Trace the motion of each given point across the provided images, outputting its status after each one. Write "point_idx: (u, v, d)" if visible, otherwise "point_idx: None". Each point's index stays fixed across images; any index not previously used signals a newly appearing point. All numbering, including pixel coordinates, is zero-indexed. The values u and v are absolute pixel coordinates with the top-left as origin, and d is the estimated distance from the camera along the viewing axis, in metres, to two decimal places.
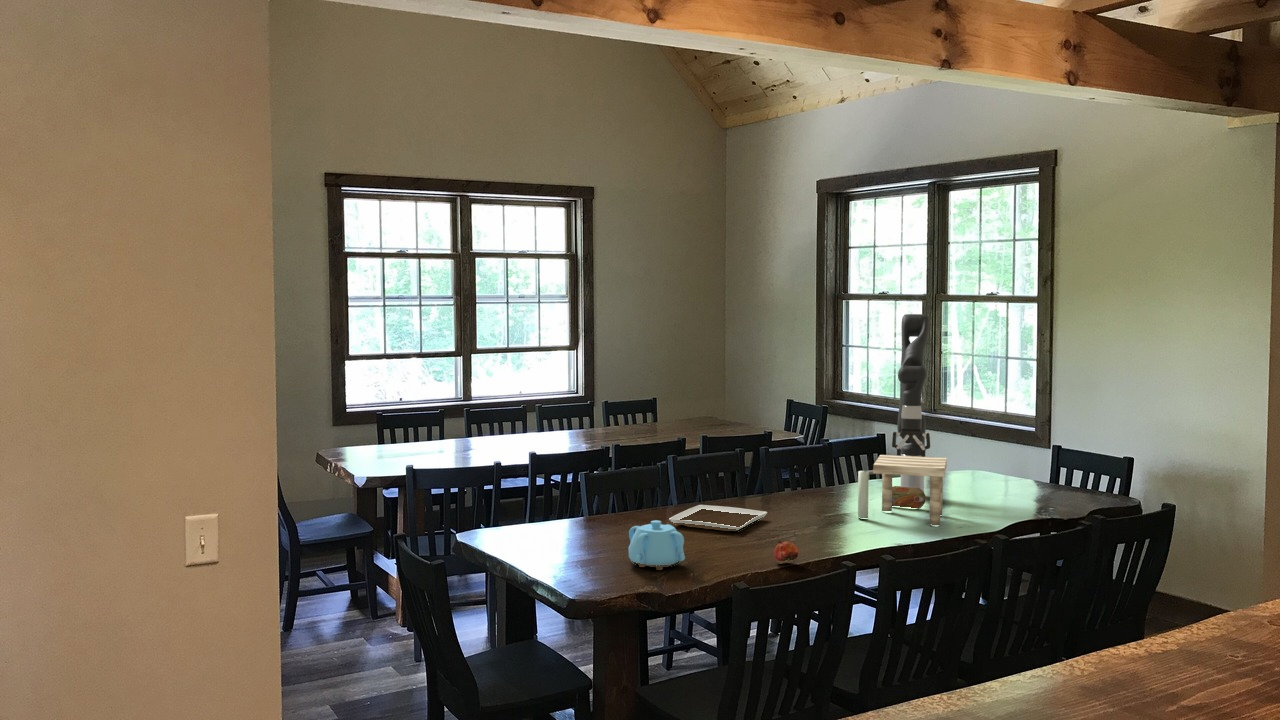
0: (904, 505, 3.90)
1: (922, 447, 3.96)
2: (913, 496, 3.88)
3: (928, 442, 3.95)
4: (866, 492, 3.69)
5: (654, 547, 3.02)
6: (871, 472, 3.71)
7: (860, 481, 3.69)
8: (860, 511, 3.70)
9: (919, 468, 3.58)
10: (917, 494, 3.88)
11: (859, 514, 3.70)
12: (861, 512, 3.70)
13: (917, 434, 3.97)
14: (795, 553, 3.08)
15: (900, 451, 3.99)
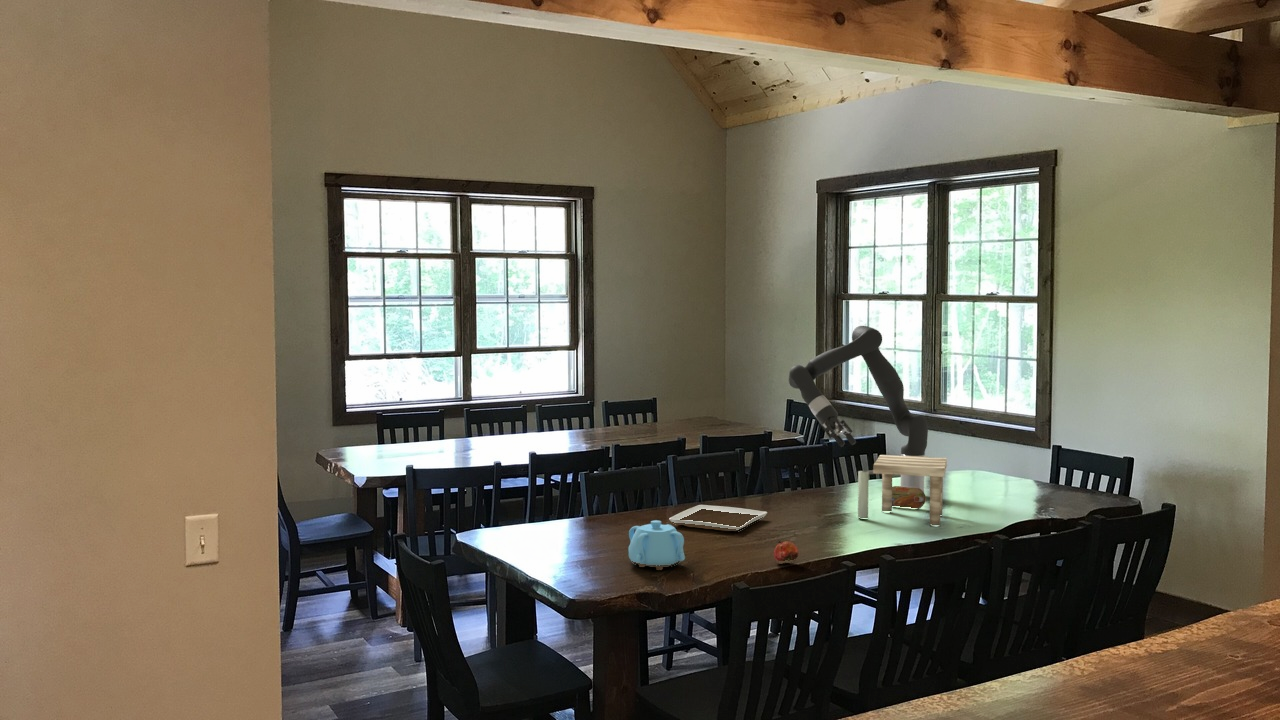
0: (904, 505, 3.90)
1: None
2: (913, 496, 3.88)
3: None
4: (866, 492, 3.69)
5: (654, 547, 3.02)
6: (871, 472, 3.71)
7: (860, 481, 3.69)
8: (860, 511, 3.70)
9: (919, 468, 3.58)
10: (917, 494, 3.88)
11: (859, 514, 3.70)
12: (861, 512, 3.70)
13: None
14: (795, 553, 3.08)
15: (847, 438, 3.85)
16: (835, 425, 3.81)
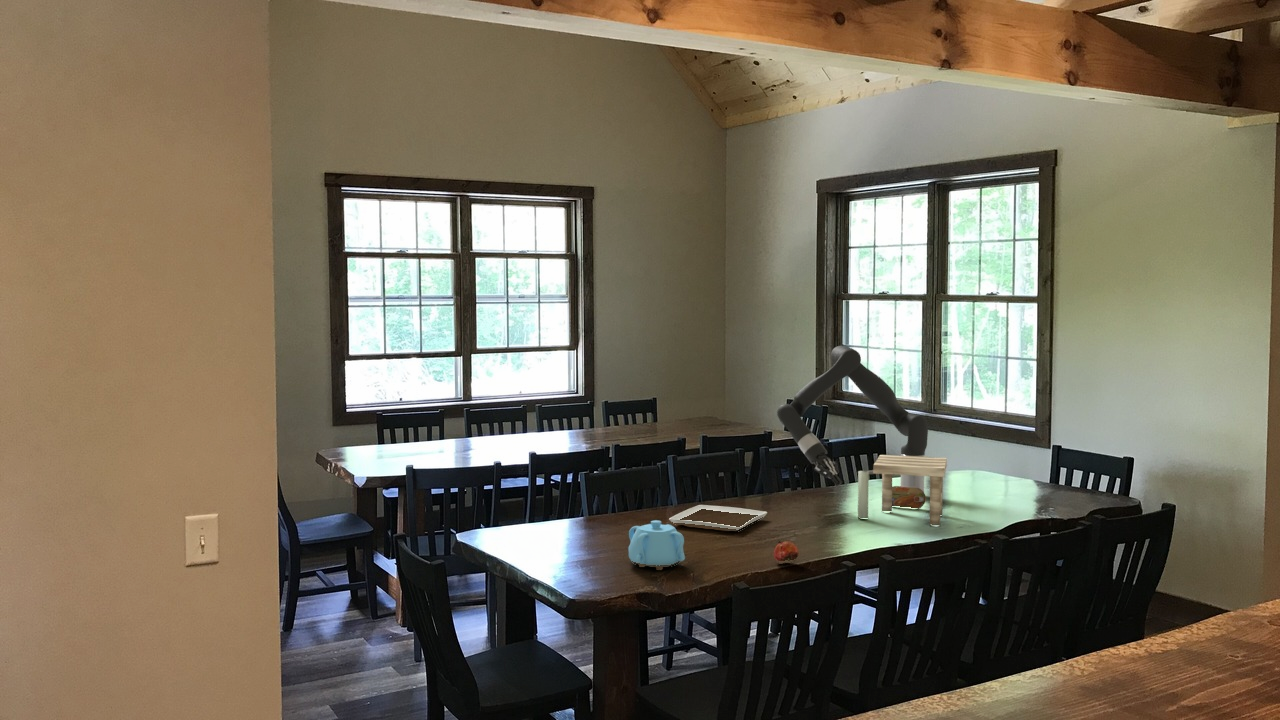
0: (904, 505, 3.90)
1: None
2: (913, 496, 3.88)
3: None
4: (866, 492, 3.69)
5: (654, 547, 3.02)
6: (871, 472, 3.71)
7: (860, 481, 3.69)
8: (860, 511, 3.70)
9: (919, 468, 3.58)
10: (917, 494, 3.88)
11: (859, 514, 3.70)
12: (861, 512, 3.70)
13: None
14: (795, 553, 3.08)
15: None
16: (826, 464, 3.82)
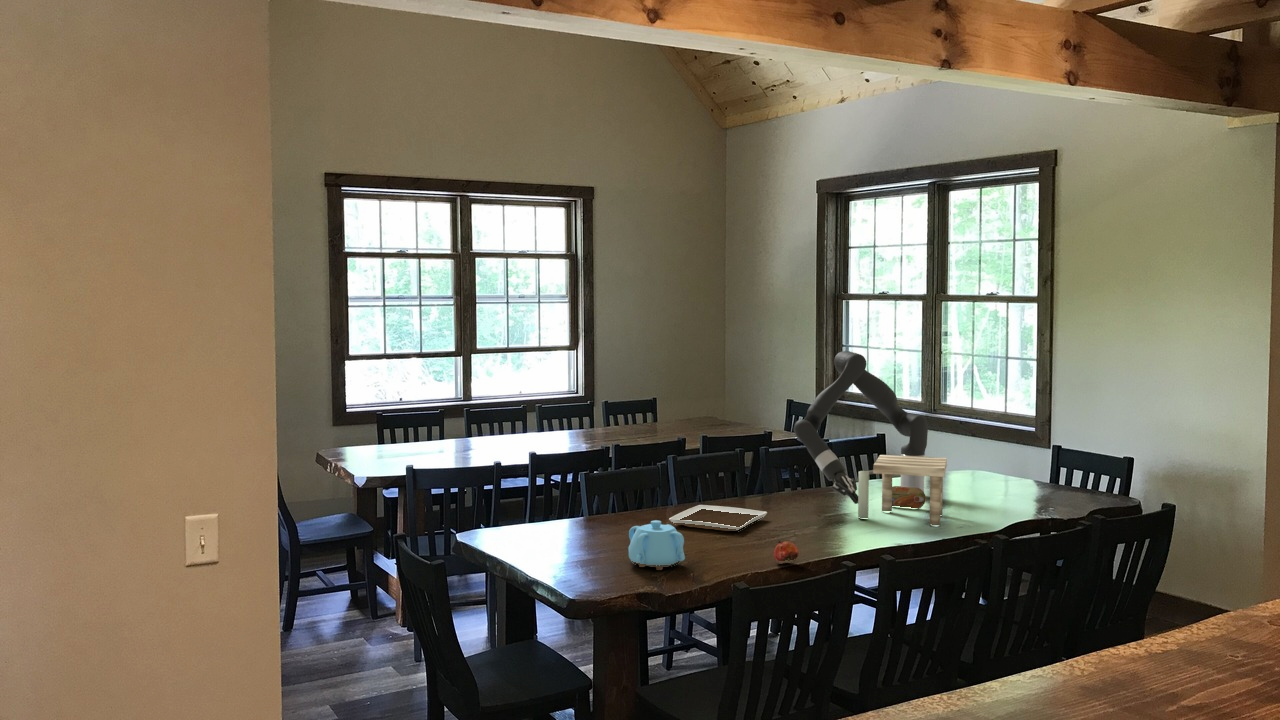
0: (904, 505, 3.90)
1: None
2: (913, 496, 3.88)
3: None
4: (866, 492, 3.69)
5: (654, 547, 3.02)
6: (871, 472, 3.71)
7: (861, 481, 3.69)
8: (860, 511, 3.70)
9: (919, 468, 3.58)
10: (917, 494, 3.88)
11: (859, 514, 3.70)
12: (861, 512, 3.70)
13: None
14: (795, 553, 3.08)
15: None
16: (845, 482, 3.74)
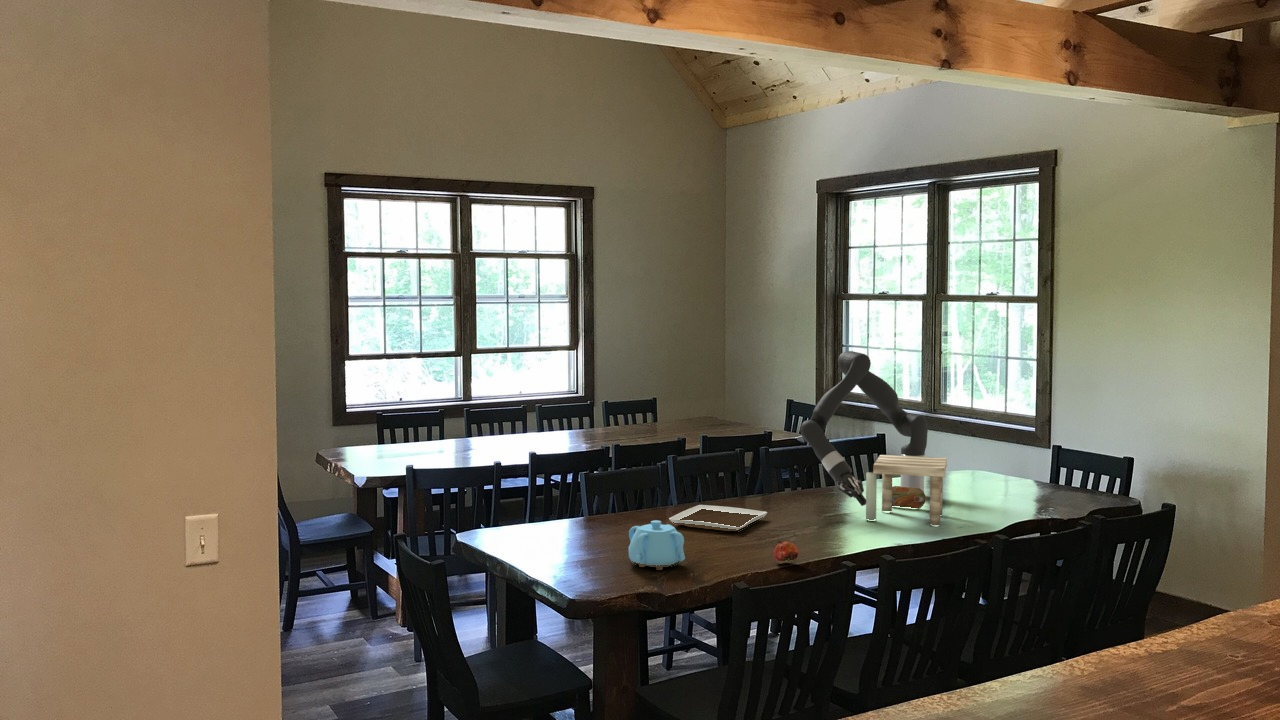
0: (904, 505, 3.90)
1: None
2: (913, 496, 3.88)
3: None
4: (875, 493, 3.67)
5: (654, 547, 3.02)
6: None
7: (870, 483, 3.66)
8: (870, 513, 3.67)
9: (919, 468, 3.58)
10: (917, 494, 3.88)
11: (869, 516, 3.67)
12: (870, 514, 3.66)
13: None
14: (795, 553, 3.08)
15: None
16: (851, 483, 3.71)
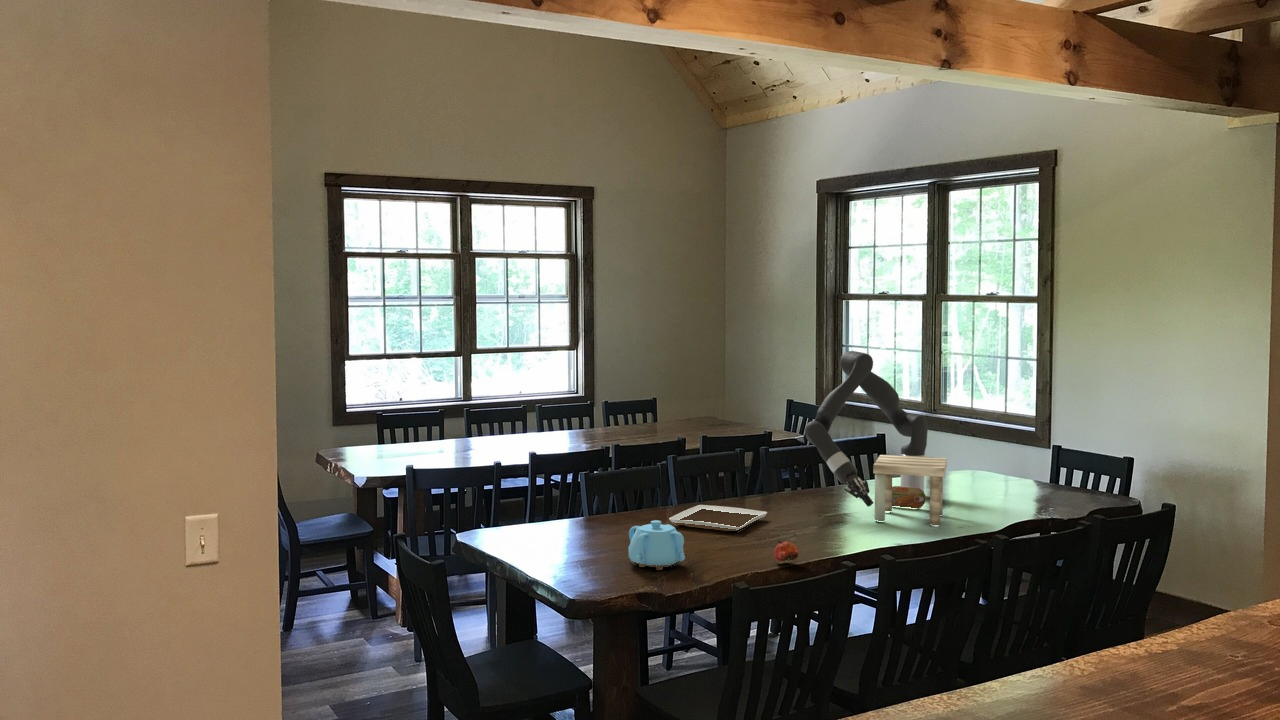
0: (904, 505, 3.90)
1: None
2: (913, 496, 3.88)
3: None
4: (884, 494, 3.65)
5: (654, 547, 3.02)
6: None
7: (881, 484, 3.64)
8: (880, 514, 3.65)
9: (919, 468, 3.58)
10: (917, 494, 3.88)
11: (879, 517, 3.65)
12: (881, 515, 3.65)
13: None
14: (795, 553, 3.08)
15: None
16: (857, 484, 3.69)
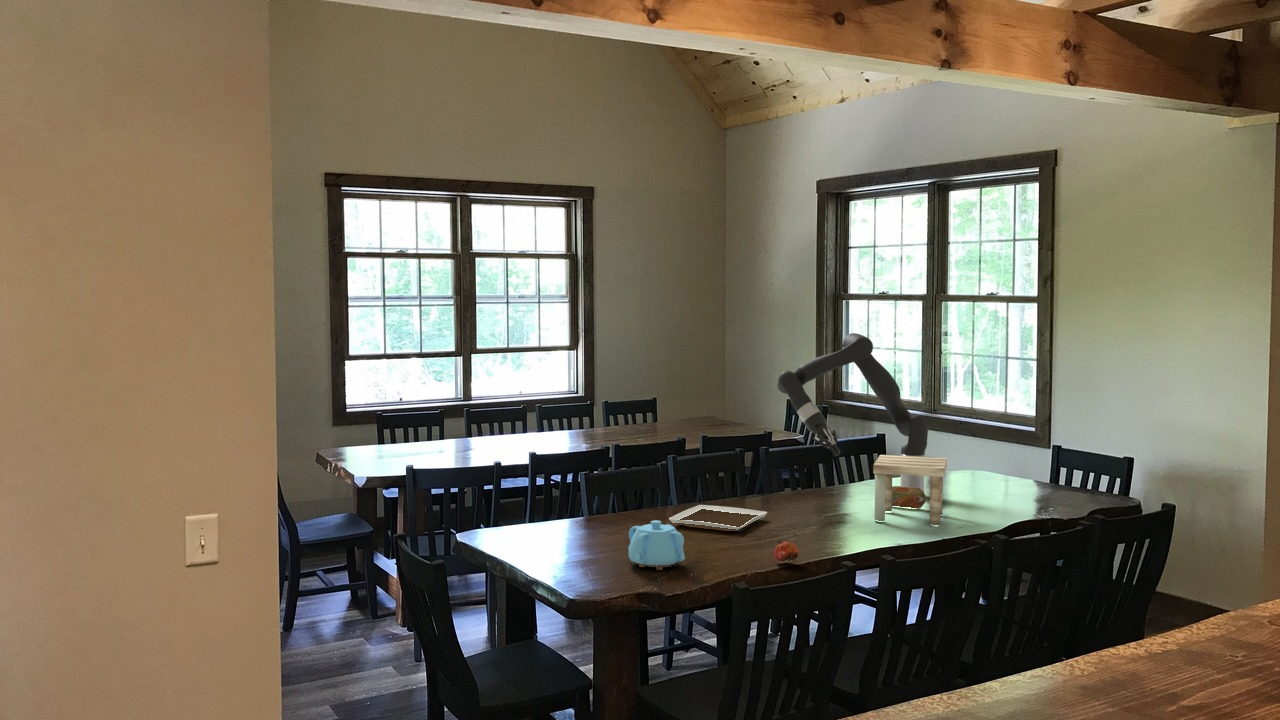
0: (904, 505, 3.90)
1: None
2: (913, 496, 3.88)
3: None
4: (884, 494, 3.65)
5: (654, 547, 3.02)
6: None
7: (881, 484, 3.64)
8: (880, 514, 3.65)
9: (919, 468, 3.58)
10: (917, 494, 3.88)
11: (879, 517, 3.65)
12: (881, 515, 3.65)
13: None
14: (795, 553, 3.08)
15: None
16: (826, 434, 3.82)
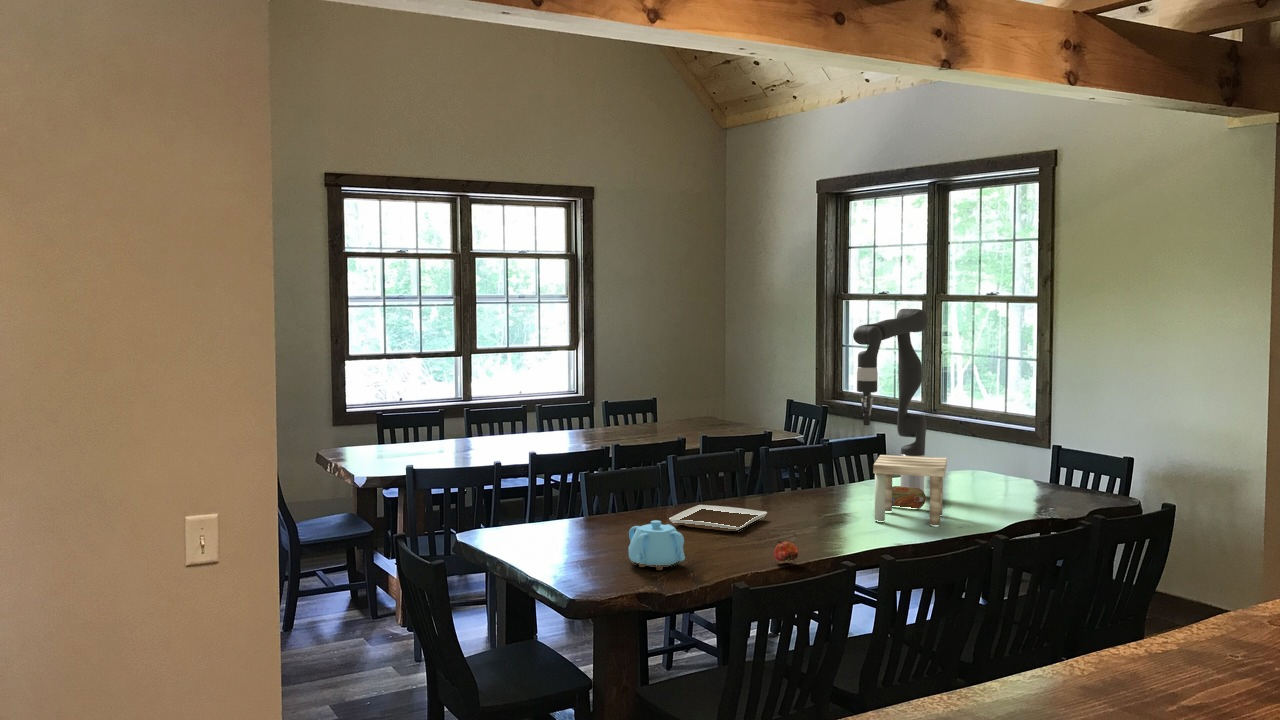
0: (904, 505, 3.90)
1: None
2: (913, 496, 3.88)
3: None
4: (884, 494, 3.65)
5: (654, 547, 3.02)
6: None
7: (881, 484, 3.64)
8: (880, 514, 3.65)
9: (919, 468, 3.58)
10: (917, 494, 3.88)
11: (879, 517, 3.65)
12: (881, 515, 3.65)
13: (863, 395, 3.84)
14: (795, 553, 3.08)
15: None
16: (871, 404, 3.84)
